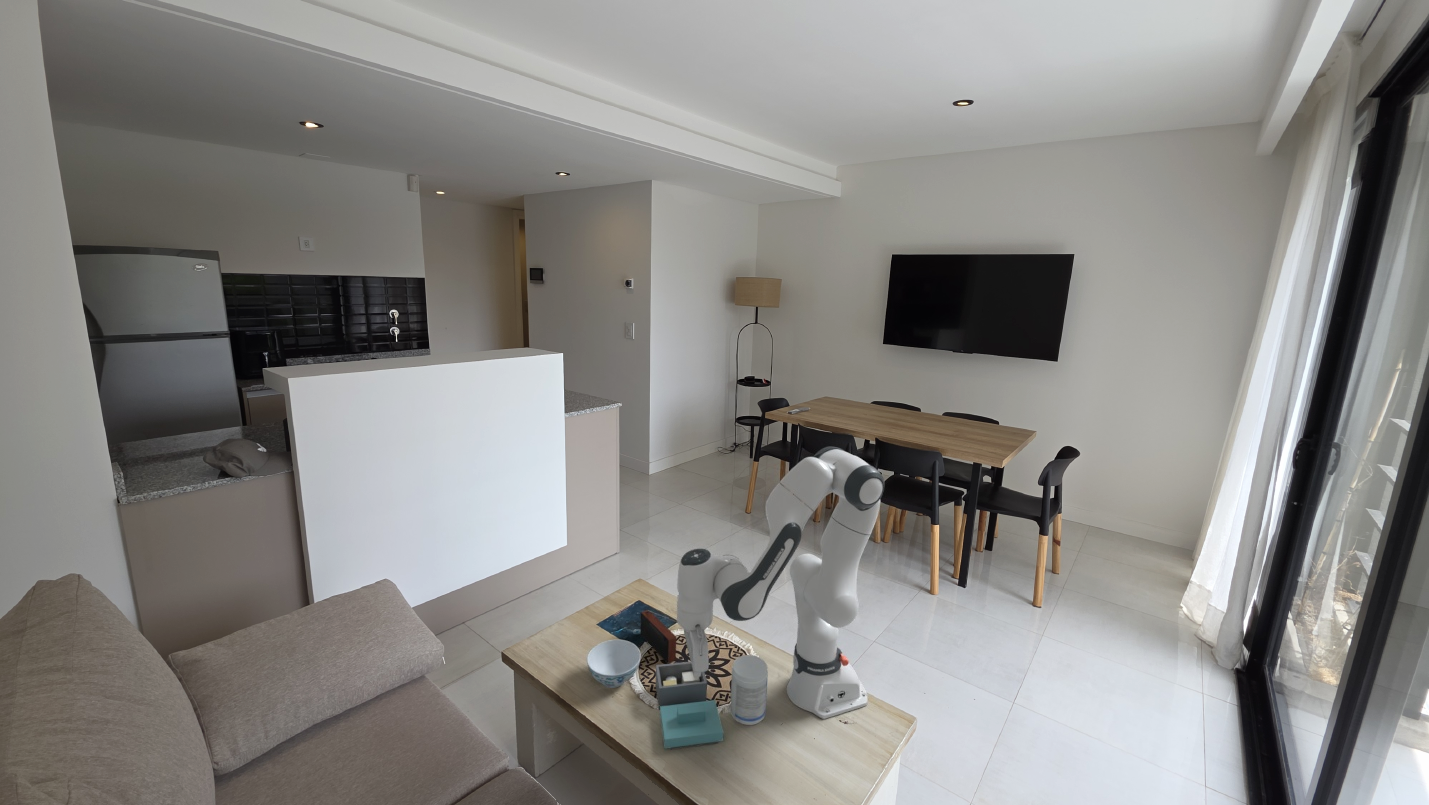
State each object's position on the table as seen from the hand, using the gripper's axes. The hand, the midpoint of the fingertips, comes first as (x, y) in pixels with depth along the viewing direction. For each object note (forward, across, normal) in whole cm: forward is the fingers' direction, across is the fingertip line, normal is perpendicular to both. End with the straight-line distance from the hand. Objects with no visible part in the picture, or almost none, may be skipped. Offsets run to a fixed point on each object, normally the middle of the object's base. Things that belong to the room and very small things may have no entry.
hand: (693, 661), depth 142 cm
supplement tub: (+21, +3, -16) cm, 26 cm away
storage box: (+20, +12, +1) cm, 24 cm away
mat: (+20, 0, 0) cm, 20 cm away
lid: (+20, 0, 0) cm, 20 cm away
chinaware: (+20, +21, +19) cm, 35 cm away
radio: (+21, +32, +5) cm, 38 cm away
